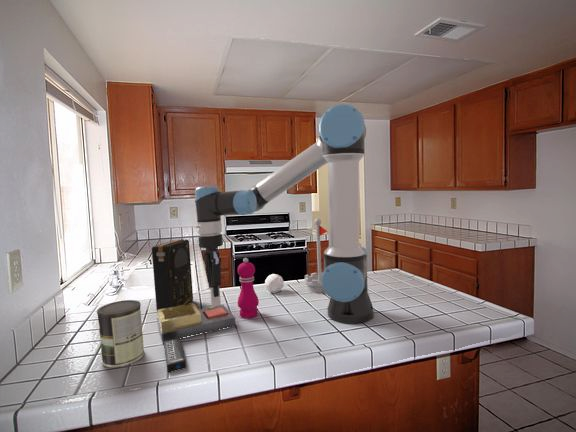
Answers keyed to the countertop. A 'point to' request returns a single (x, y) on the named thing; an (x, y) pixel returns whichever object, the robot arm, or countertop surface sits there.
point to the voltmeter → (172, 274)
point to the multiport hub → (174, 355)
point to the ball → (274, 283)
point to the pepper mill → (247, 290)
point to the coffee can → (120, 333)
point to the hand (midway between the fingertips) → (216, 305)
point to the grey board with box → (190, 321)
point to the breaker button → (215, 313)
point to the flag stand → (315, 280)
